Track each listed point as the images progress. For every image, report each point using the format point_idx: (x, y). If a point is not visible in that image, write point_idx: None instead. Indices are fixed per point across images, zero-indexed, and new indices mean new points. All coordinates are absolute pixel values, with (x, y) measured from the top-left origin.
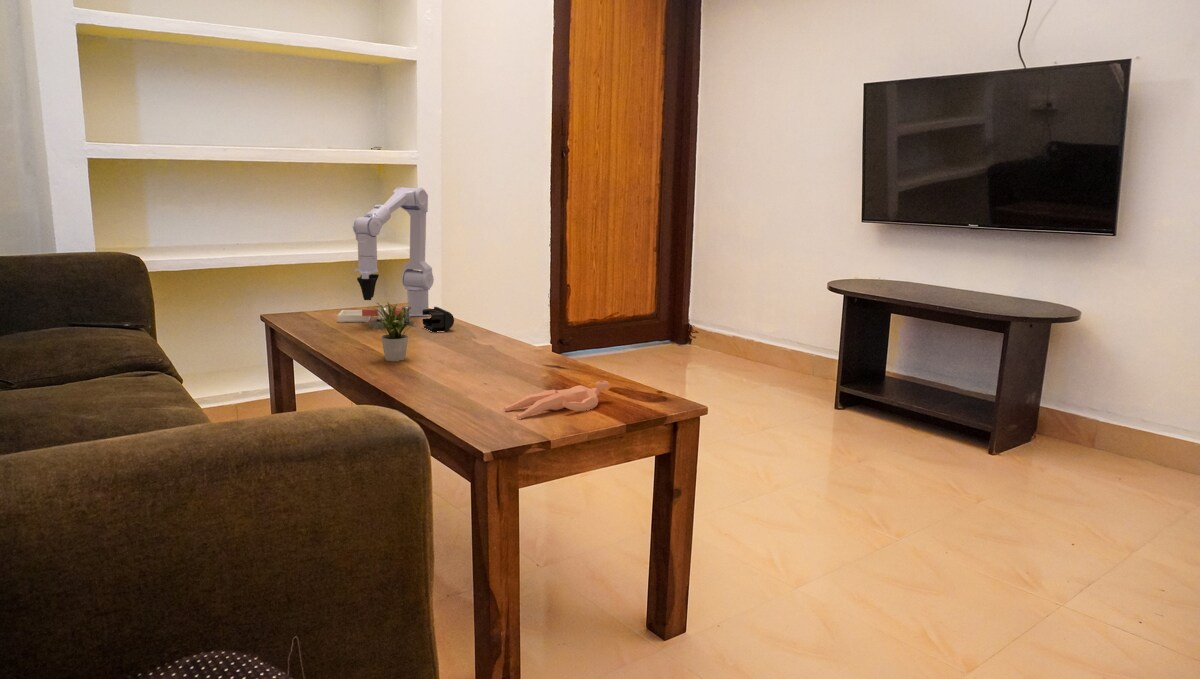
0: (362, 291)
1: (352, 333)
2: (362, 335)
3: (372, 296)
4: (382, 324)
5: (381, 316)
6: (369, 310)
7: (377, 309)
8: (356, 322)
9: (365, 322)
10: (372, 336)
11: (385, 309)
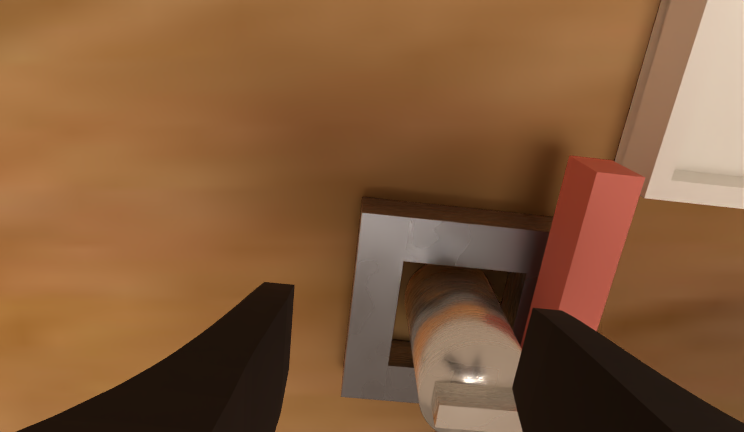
0: (183, 349)
1: (152, 61)
2: (74, 146)
3: (518, 392)
4: (351, 304)
5: (415, 330)
6: (573, 246)
7: (586, 321)
8: (637, 84)
9: (616, 162)
10: (43, 221)
11: (421, 406)
